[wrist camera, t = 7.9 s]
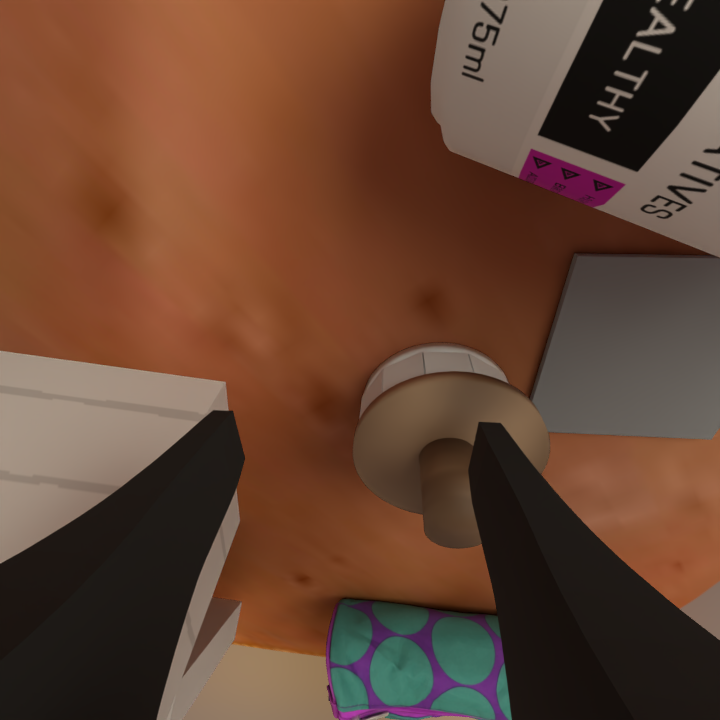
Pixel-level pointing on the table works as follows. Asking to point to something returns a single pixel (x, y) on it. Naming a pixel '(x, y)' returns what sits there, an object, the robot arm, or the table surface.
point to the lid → (440, 446)
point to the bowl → (427, 366)
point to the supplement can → (591, 103)
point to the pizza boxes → (108, 476)
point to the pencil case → (414, 663)
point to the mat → (634, 348)
